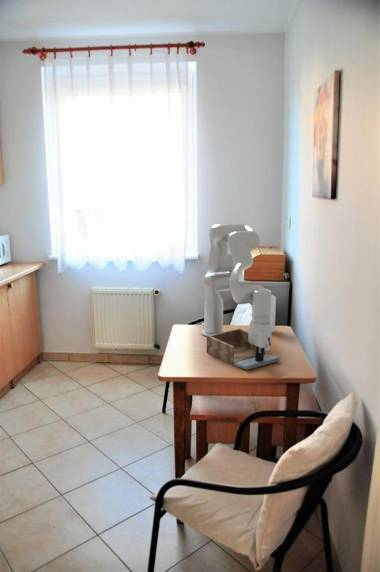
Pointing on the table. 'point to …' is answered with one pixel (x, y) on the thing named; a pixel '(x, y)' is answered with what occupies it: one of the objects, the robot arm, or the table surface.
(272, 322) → the milk
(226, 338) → the crate
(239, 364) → the panel
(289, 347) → the table surface
